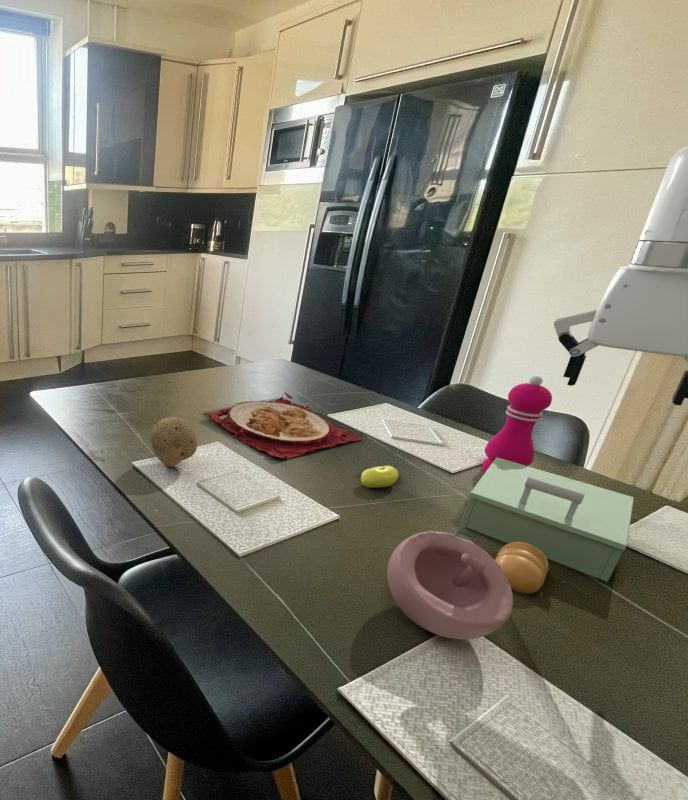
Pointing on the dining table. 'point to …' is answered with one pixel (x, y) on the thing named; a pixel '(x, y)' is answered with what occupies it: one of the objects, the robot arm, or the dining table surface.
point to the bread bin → (541, 538)
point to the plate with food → (280, 427)
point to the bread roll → (523, 566)
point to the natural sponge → (173, 441)
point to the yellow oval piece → (379, 476)
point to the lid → (557, 501)
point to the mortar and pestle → (449, 585)
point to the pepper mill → (519, 424)
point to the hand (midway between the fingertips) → (621, 392)
